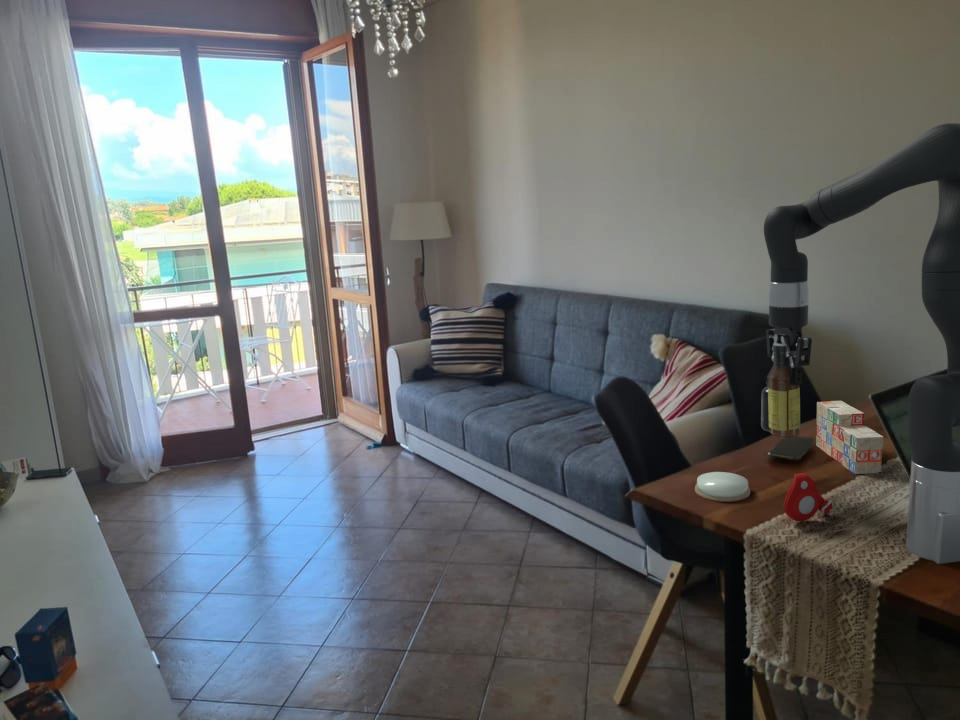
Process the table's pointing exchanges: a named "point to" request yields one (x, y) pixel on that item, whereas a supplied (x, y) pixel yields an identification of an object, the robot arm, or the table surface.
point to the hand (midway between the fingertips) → (787, 381)
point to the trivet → (722, 486)
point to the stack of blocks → (848, 437)
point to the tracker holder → (805, 499)
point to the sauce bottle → (782, 397)
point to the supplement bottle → (765, 409)
